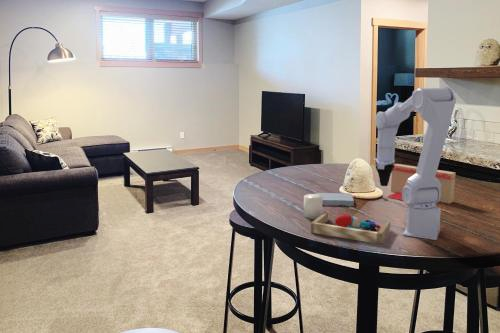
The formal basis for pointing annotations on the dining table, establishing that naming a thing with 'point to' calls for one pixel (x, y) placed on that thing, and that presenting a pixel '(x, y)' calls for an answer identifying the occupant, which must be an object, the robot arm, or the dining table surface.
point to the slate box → (337, 199)
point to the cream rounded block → (312, 206)
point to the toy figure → (355, 223)
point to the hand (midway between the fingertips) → (384, 185)
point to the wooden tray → (348, 231)
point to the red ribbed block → (405, 172)
